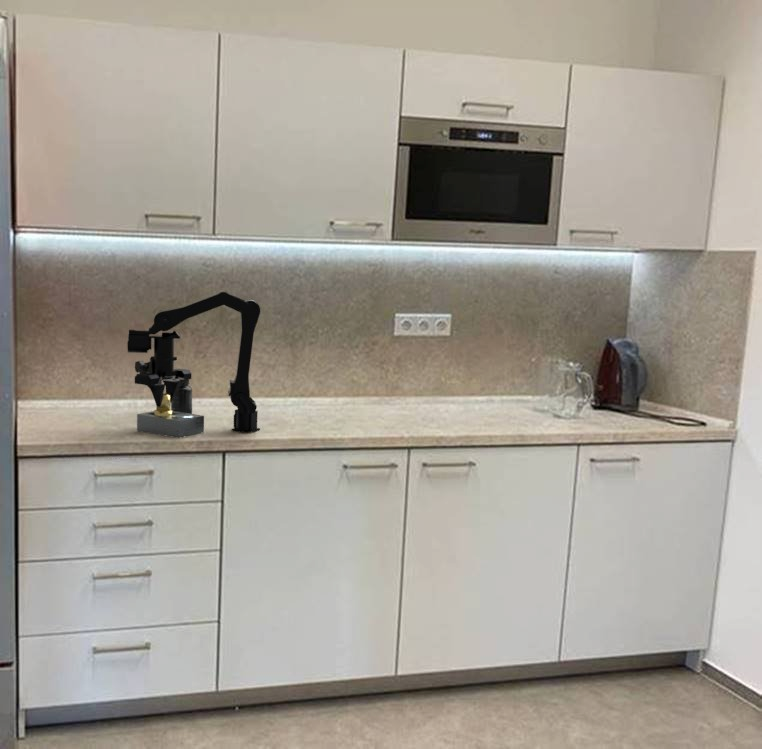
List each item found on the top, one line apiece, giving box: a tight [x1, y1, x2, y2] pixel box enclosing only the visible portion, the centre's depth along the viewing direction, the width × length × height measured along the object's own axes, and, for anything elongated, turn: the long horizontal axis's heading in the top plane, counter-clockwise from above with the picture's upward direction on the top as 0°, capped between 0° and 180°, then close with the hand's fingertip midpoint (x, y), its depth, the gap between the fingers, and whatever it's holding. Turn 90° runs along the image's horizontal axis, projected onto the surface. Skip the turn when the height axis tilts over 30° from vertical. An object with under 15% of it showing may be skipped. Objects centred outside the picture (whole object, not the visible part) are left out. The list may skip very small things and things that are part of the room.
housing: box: [136, 410, 205, 439], centre depth 257 cm, size 16×11×5 cm
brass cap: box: [153, 392, 172, 417], centre depth 258 cm, size 5×5×8 cm
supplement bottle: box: [170, 378, 193, 414], centre depth 284 cm, size 7×7×12 cm
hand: (163, 405), depth 258 cm, fingers closed on brass cap, 4 cm apart
